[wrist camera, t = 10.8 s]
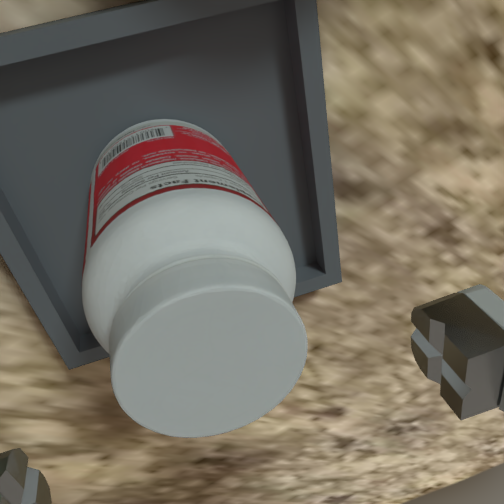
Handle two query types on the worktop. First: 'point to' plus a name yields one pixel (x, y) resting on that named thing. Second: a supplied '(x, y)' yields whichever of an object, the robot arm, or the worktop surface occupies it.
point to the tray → (151, 108)
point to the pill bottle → (188, 284)
